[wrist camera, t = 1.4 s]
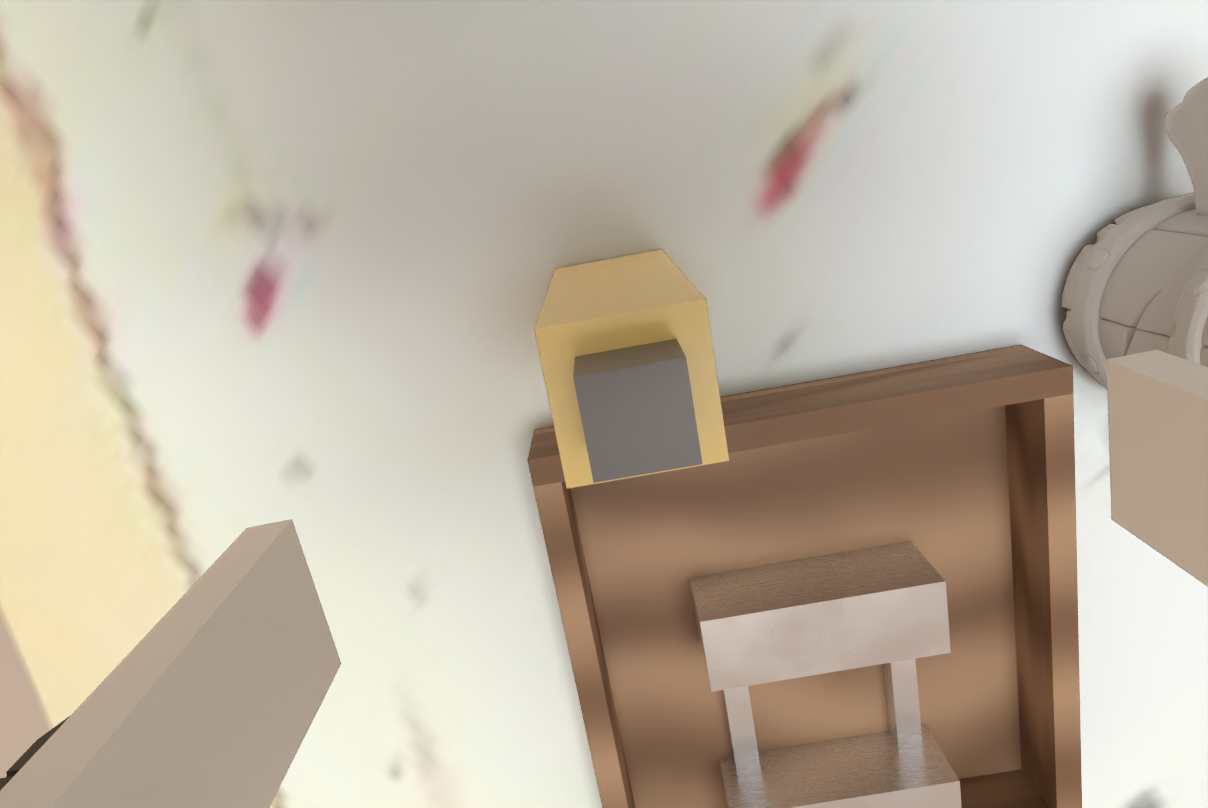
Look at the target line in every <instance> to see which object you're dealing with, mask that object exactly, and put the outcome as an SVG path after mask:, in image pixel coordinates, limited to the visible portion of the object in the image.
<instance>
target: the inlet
mask: <svg viewBox="0 0 1208 808" xmlns="http://www.w3.org/2000/svg"><path fill="white" fill-rule="evenodd" d="M689 579H690V585H691V591H692V598H693V604H694V610H695V616H696V622H697V628H698V634H699V640H700V645H701V649H702V653H703V658H704V662H705V666H706V671H707V675H708V679H709V684H710V688H711V692H714V691H720V690H722V692H723V698H724V704H725V711H726V717H727V723H728V729H729V736H730V742H731V748H732V754H733V756H727V757H721V758H719V761H720V767H721V773H722V779H723V785H724V791H725V797H726V803H727V808H962V807H961V792H960V781H959V779H958V777H957V776H956V774H955V772H954V771H953V769H952V767H951V766H950V764H949V762H948V761H947V759H946V757H945V756H944V754H943V752H942V751H941V749H940V747H939V746H938V744H937V742H936V741H935V739H934V738H933V736H932V734H931V733H930V731H929V729H928V728H927V726H926V725H921V720H920V708H919V696H918V684H917V672H916V661H915V659H916V658H922V657H928V656H934V655H941V654H947V653H951V649H950V635H949V621H948V607H947V592H946V581H945V580H944V579H943V577H942V576H941V575H940V574H939V573H938V572H937V571H936V569H935V568H934V567H933V566H932V565H931V564H930V562H929V561H928V560H927V559H926V558H925V557H924V555H923V554H922V553H921V552H920V551H919V550H918V548H917V547H916V546H915V545H914V544H913V543H912V541H905V542H899V543H893V544H887V545H881V546H875V547H869V548H863V549H857V550H851V551H845V552H839V553H833V554H827V555H821V556H815V557H809V558H803V559H797V560H791V561H785V562H780V563H774V564H768V565H762V566H756V567H750V568H744V569H738V570H732V571H726V572H720V573H714V574H708V575H702V576H696V577H690V578H689ZM879 664H882V666H883V676H884V687H885V697H886V708H887V718H888V728H889V731H883V732H877V733H870V734H864V735H858V736H852V737H845V738H839V739H833V740H827V741H820V742H814V743H808V744H802V745H795V746H789V747H783V748H777V749H770V750H764V751H758V748H757V741H756V735H755V728H754V721H753V714H752V708H751V701H750V694H749V688H748V686H750V685H756V684H763V683H769V682H775V681H781V680H787V679H793V678H799V677H806V676H812V675H818V674H824V673H830V672H836V671H842V670H848V669H855V668H861V667H867V666H873V665H879Z"/></svg>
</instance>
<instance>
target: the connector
mask: <svg viewBox="0 0 1208 808" xmlns="http://www.w3.org/2000/svg"><path fill="white" fill-rule="evenodd" d="M534 331H535V336H536V341H537V345H538V350H539V355H540V360H541V365H542V370H543V375H544V380H545V385H546V390H547V394H548V399H549V404H550V409H551V414H552V419H553V424H554V429H555V434H556V439H557V443H558V448H559V453H560V458H561V463H562V468H563V473H564V478H565V483H566V487H567V489H568V488H574V487H580V486H585V485H591V484H597V483H603V482H609V481H614V480H620V479H626V478H632V477H638V476H643V475H649V474H655V473H661V472H667V471H672V470H678V469H684V468H690V467H696V466H701V465H707V464H713V463H719V462H725V461H729V456H728V449H727V442H726V435H725V428H724V421H723V414H722V407H721V400H720V393H719V387H718V380H717V373H716V366H715V359H714V352H713V345H712V338H711V331H710V324H709V317H708V310H707V303H706V298H705V297H704V296H703V295H702V294H701V293H700V292H699V290H698V289H697V288H696V287H695V286H694V285H693V284H692V283H691V281H690V280H689V279H688V278H687V277H686V276H685V275H684V274H683V272H682V271H681V270H680V269H679V268H678V267H677V266H676V265H675V263H674V262H673V261H672V260H671V259H670V258H669V257H668V256H667V255H666V253H665V252H664V251H663V250H662V249H661V250H655V251H650V252H644V253H639V254H633V255H628V256H622V257H617V258H611V259H606V260H600V261H595V262H589V263H584V264H578V265H573V266H567V267H562V268H556V269H555V271H554V274H553V277H552V279H551V282H550V285H549V288H548V291H547V294H546V297H545V300H544V303H543V305H542V308H541V311H540V314H539V317H538V320H537V323H536V326H535V329H534Z"/></svg>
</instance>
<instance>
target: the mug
mask: <svg viewBox="0 0 1208 808" xmlns="http://www.w3.org/2000/svg"><path fill="white" fill-rule="evenodd" d="M1164 127H1165V129H1166V131H1167V133H1168V136H1169V138H1170V140H1171V141H1172V143H1173V144H1174V145H1175V147H1176V148H1177V149H1178V151H1179V153H1180V154H1181V156H1182V158H1183V160H1184V163H1185V165H1186V168H1187V170H1188V173H1189V176H1190V179H1191V181H1192V184H1193V187H1194V191H1195V193H1189V194H1186V195H1183V196H1177V197H1173V198H1169V199H1165V200H1162V201H1159V202H1157V203H1154V204H1151V205H1147V206H1143V207H1140V208H1137V209H1134V210H1132V211H1129V212H1127V213H1125V214H1123V215H1121V216H1119V217H1118V218H1116V219H1115V220H1114V221H1115V223H1116V224H1108V225H1107V226H1105V227H1104V228H1102V229H1101V230H1100V231H1098V232H1097V240H1096V243H1095V244H1088V245H1086V246H1084V248H1083V249H1082V250H1081V252H1080V253H1079V255H1078V256H1077V258H1076V259H1075V261H1074V263H1073V265H1072V267H1071V269H1070V271H1069V273H1068V276H1067V279H1066V283H1065V286H1064V290H1063V293H1062V307H1064V308H1067V309H1069V310H1068V311H1067V314H1066V315H1067V317H1066V319H1065V321H1064V323H1063V332H1064V335H1065V337H1066V340H1067V343H1068V345H1069V347H1070V349H1071V351H1072V353H1073V355H1074V356H1075V358H1076V359H1077V360H1078V362H1079V363H1080V364H1081V365H1082V366H1083V367H1084V368H1085V369H1086V370H1087V371H1088V372H1089V373H1090V374H1091V376H1092V377H1093V378H1094V379H1095V380H1096V381H1097V382H1099V383H1100V384H1101V385H1102V386H1103V387H1105V388H1106V389H1107V390H1108V388H1107V359H1111V358H1116V357H1122V356H1127V355H1132V354H1137V353H1142V352H1147V351H1152V350H1159V351H1162V352H1165V353H1168V354H1171V355H1174V356H1177V357H1180V358H1183V359H1186V360H1189V361H1191V362H1194V363H1197V364H1200V365H1203V366H1206V367H1208V78H1206V79H1204V80H1202V81H1201V82H1199V83H1198V84H1196V85H1195V86H1194V87H1192V88H1191V89H1190V90H1189V91H1188V92H1187V93H1186V95H1185V97H1184V99H1183V101H1182V103H1181V104H1179V105H1178V106H1176V107H1175V108H1173V109H1172V110H1171V111H1169V112H1168V113H1167V114H1166V116H1165V121H1164Z"/></svg>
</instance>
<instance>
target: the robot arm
mask: <svg viewBox="0 0 1208 808" xmlns="http://www.w3.org/2000/svg"><path fill="white" fill-rule="evenodd" d="M1107 388H1108V421H1109V454H1110V488H1111V519H1112V520H1113V521H1115V522H1116V523H1117V524H1119V525H1120V526H1122V527H1123V528H1125V529H1126V530H1127V531H1129V532H1130V533H1132V534H1133V535H1135V536H1136V537H1137V538H1139V539H1140V540H1142V541H1143V542H1145V543H1146V544H1147V545H1149V546H1150V547H1152V548H1153V549H1155V550H1156V551H1157V552H1159V553H1160V554H1162V555H1163V556H1165V557H1166V558H1167V559H1169V560H1170V561H1172V562H1173V563H1175V564H1176V565H1177V566H1179V567H1180V568H1182V569H1183V570H1185V571H1186V572H1187V573H1189V574H1190V575H1192V576H1193V577H1195V578H1196V579H1197V580H1199V581H1200V582H1202V583H1203V584H1205V585H1206V586H1208V367H1206V366H1203V365H1200V364H1197V363H1194V362H1191V361H1189V360H1186V359H1183V358H1180V357H1177V356H1174V355H1171V354H1168V353H1165V352H1162V351H1159V350H1152V351H1147V352H1142V353H1137V354H1132V355H1127V356H1122V357H1116V358H1111V359H1107ZM340 665H341V662H340V659H339V656H338V653H337V650H336V647H335V644H334V641H333V638H332V635H331V632H330V629H329V626H328V624H327V621H326V618H325V615H324V612H323V609H322V606H321V603H320V600H319V597H318V594H317V591H316V588H315V586H314V583H313V580H312V577H311V574H310V571H309V568H308V565H307V562H306V559H305V556H304V553H303V550H302V547H301V545H300V542H299V539H298V536H297V533H296V530H295V527H294V524H293V521H292V519H291V520H286V521H281V522H276V523H271V524H266V525H261V526H255V527H250V528H246V529H245V531H244V532H243V533H242V534H241V535H240V536H239V537H238V538H237V539H236V540H235V541H234V542H233V543H232V544H231V545H230V546H229V548H228V549H227V550H226V551H225V552H224V553H223V554H222V555H221V556H220V557H219V558H218V559H217V560H216V561H215V562H214V564H213V565H212V566H211V567H210V568H209V569H208V570H207V571H206V572H205V573H204V574H203V575H202V576H201V577H200V578H199V580H198V581H197V582H196V583H195V584H194V585H193V586H192V587H191V588H190V589H189V590H188V591H187V592H186V593H185V594H184V595H183V597H182V598H181V599H180V600H179V601H178V602H177V603H176V604H175V605H174V606H173V607H172V608H171V609H170V610H169V611H168V613H167V614H166V615H165V616H164V617H163V618H162V619H161V620H160V621H159V622H158V623H157V624H156V625H155V626H154V627H153V629H152V630H151V631H150V632H149V633H148V634H147V635H146V636H145V637H144V638H143V639H142V640H141V641H140V642H139V643H138V645H137V646H136V647H135V648H134V649H133V650H132V651H131V652H130V653H129V654H128V655H127V656H126V657H125V658H124V659H123V660H122V662H121V663H120V664H119V665H118V666H117V667H116V668H115V669H114V670H113V671H112V672H111V673H110V674H109V675H108V676H107V678H106V679H105V680H104V681H103V682H102V683H101V684H100V685H99V686H98V687H97V688H96V689H95V690H94V691H93V692H92V694H91V695H90V696H89V697H88V698H87V699H86V700H85V701H84V702H83V703H82V704H81V705H80V706H79V707H78V708H77V709H76V711H75V712H74V713H73V714H72V715H71V716H69V717H68V718H67V719H65V720H64V721H62V722H61V723H60V724H58V725H57V726H56V727H54V728H53V729H51V730H50V731H49V732H47V733H46V734H45V735H43V736H42V737H41V738H39V739H38V740H37V741H36V742H35V743H34V744H33V745H32V746H31V747H30V748H29V749H28V750H27V751H26V752H25V753H24V754H23V755H22V756H21V757H20V759H19V760H18V761H17V762H16V763H15V764H14V765H13V766H12V767H11V768H10V769H9V770H8V771H7V777H6V778H1V779H0V808H269V807H270V805H271V803H272V801H273V799H274V797H275V795H276V793H277V791H278V789H279V787H280V785H281V783H282V781H283V779H284V777H285V775H286V773H287V771H288V769H289V767H290V765H291V763H292V761H293V759H294V757H295V755H296V753H297V751H298V749H299V747H300V745H301V743H302V741H303V739H304V737H305V735H306V733H307V731H308V729H309V727H310V725H311V723H312V721H313V719H314V717H315V715H316V713H317V711H318V709H319V707H320V705H321V703H322V701H323V699H324V697H325V695H326V693H327V691H328V689H329V687H330V685H331V683H332V681H333V679H334V677H335V675H336V673H337V671H338V669H339V667H340Z"/></svg>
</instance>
